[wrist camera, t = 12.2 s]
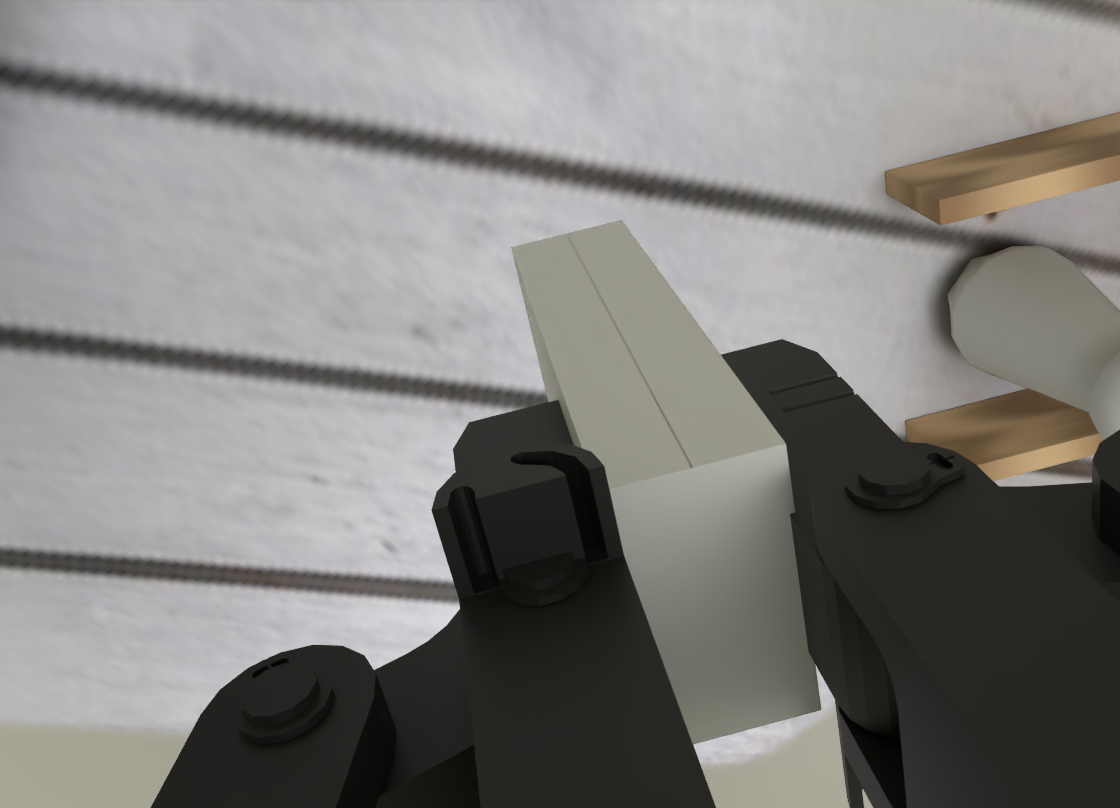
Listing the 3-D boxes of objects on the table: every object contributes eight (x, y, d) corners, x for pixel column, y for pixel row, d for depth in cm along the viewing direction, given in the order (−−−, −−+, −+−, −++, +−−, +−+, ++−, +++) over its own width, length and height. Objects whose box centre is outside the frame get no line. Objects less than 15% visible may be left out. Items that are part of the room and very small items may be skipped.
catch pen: (907, 439, 51) (956, 490, 46) (885, 171, 45) (939, 200, 40) (1189, 365, 51) (1265, 409, 47) (1202, 91, 45) (1291, 111, 41)
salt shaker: (945, 374, 49) (1114, 517, 38) (913, 266, 47) (1084, 384, 35) (1064, 320, 49) (1272, 449, 37) (1038, 209, 47) (1252, 309, 35)
